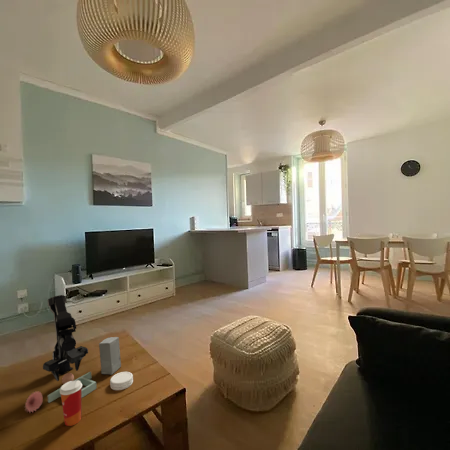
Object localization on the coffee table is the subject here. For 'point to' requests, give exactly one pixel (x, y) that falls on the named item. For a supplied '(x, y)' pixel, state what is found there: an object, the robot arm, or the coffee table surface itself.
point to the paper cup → (71, 402)
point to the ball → (67, 378)
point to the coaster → (121, 380)
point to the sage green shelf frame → (86, 382)
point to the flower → (34, 401)
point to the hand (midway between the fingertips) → (67, 375)
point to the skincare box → (110, 355)
